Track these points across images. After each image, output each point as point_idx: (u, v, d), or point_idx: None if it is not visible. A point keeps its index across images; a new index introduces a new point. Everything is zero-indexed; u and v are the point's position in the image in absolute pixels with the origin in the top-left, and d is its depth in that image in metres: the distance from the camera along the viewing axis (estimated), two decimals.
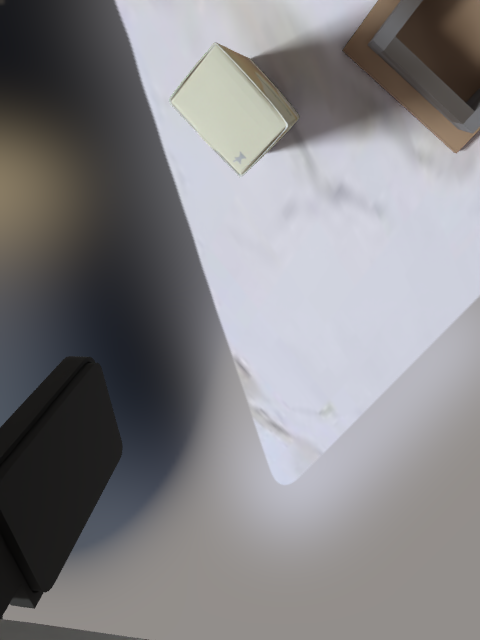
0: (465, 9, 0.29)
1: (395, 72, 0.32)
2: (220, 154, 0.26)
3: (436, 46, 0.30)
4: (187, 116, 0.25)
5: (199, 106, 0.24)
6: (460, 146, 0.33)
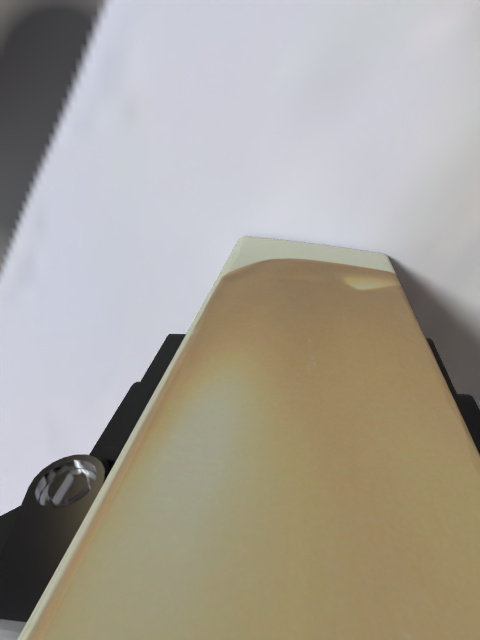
0: None
1: None
2: None
3: None
4: None
5: None
6: None
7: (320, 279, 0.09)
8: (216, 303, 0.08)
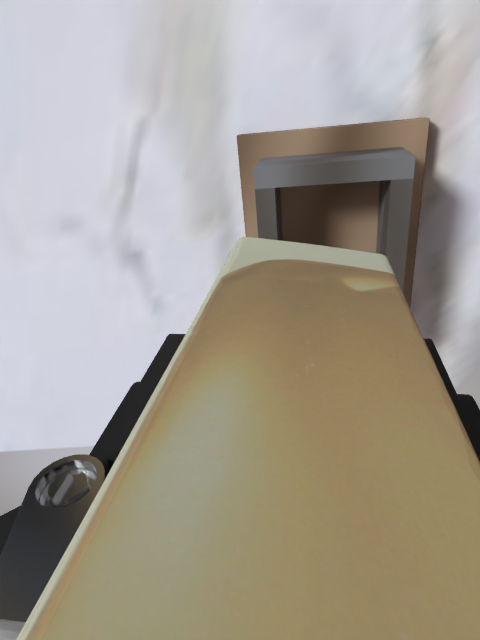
0: (357, 222, 0.24)
1: None
2: None
3: (312, 226, 0.25)
4: None
5: None
6: None
7: (319, 279, 0.09)
8: (215, 304, 0.08)
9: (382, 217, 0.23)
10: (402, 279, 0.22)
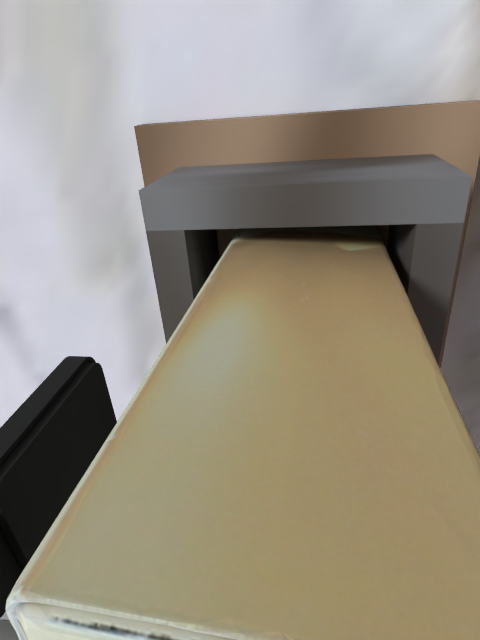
0: None
1: None
2: None
3: None
4: None
5: None
6: None
7: (315, 243, 0.11)
8: (227, 262, 0.10)
9: None
10: None
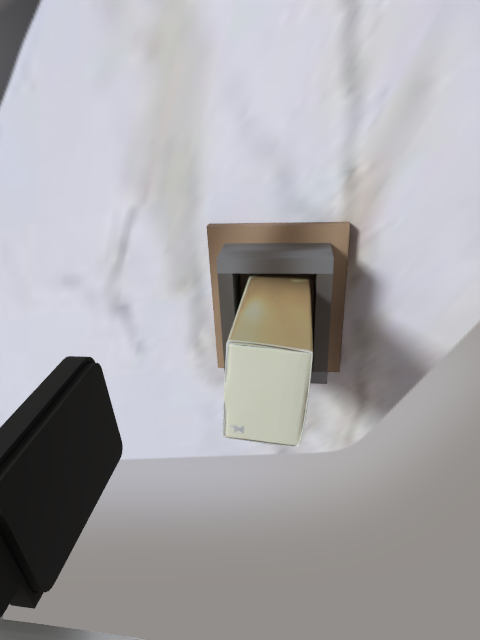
0: None
1: None
2: (225, 411, 0.22)
3: None
4: (230, 366, 0.21)
5: (249, 371, 0.21)
6: (224, 366, 0.35)
7: (282, 278, 0.28)
8: (250, 286, 0.27)
9: None
10: (327, 343, 0.29)
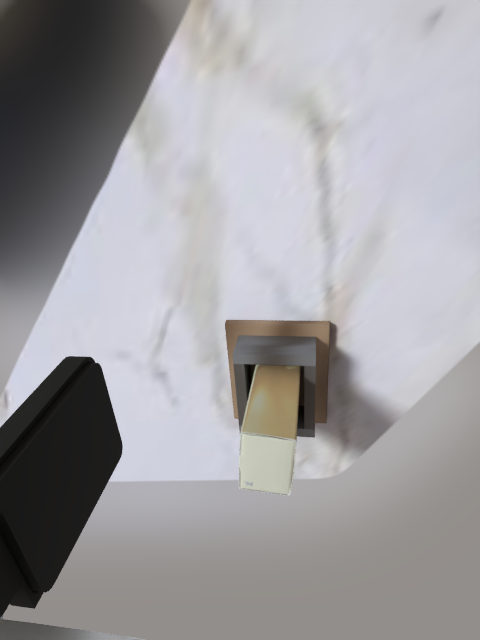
0: None
1: None
2: (240, 472, 0.33)
3: None
4: (243, 446, 0.32)
5: (255, 450, 0.32)
6: (239, 417, 0.47)
7: (280, 366, 0.39)
8: (256, 375, 0.38)
9: None
10: (314, 410, 0.40)
